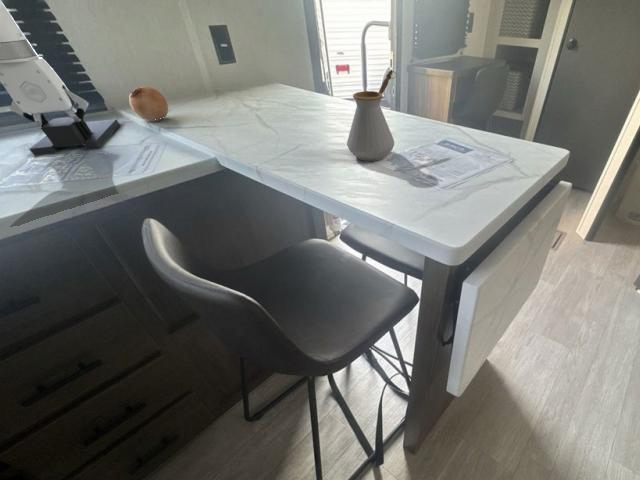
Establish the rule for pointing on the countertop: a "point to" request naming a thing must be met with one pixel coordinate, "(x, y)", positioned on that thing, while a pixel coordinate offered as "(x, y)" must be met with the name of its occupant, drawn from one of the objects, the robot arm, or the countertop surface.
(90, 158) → the countertop surface
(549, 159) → the countertop surface
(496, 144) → the countertop surface
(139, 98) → the onion
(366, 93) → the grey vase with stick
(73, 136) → the black angular block
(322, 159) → the countertop surface
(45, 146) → the notched block
